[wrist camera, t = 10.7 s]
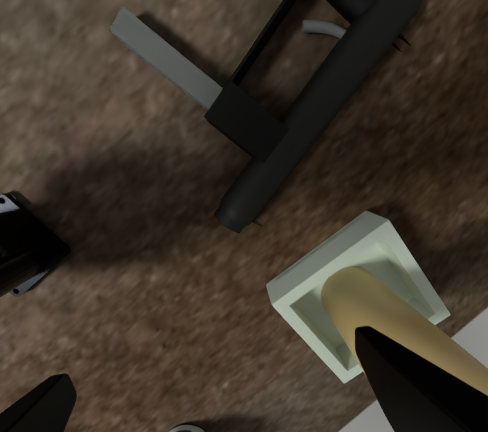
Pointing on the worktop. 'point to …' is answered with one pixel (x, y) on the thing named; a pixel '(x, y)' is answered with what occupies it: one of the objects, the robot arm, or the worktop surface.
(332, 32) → the door handle
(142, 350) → the worktop surface
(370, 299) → the tan rounded cylinder
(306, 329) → the tray
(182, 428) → the supplement bottle
